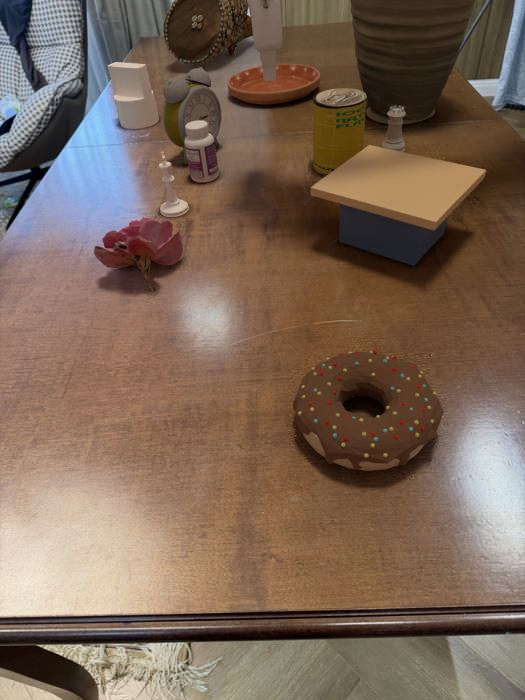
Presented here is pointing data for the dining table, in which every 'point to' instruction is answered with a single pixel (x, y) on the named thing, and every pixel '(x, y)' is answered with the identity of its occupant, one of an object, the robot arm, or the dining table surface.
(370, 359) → the donut
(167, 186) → the chess piece
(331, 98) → the beverage can
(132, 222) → the flower
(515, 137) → the dining table surface
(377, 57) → the vase
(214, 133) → the alarm clock
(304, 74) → the saucer
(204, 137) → the pill bottle
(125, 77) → the cylinder with rectangular tab
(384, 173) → the board box
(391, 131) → the rook chess piece
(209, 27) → the basket
